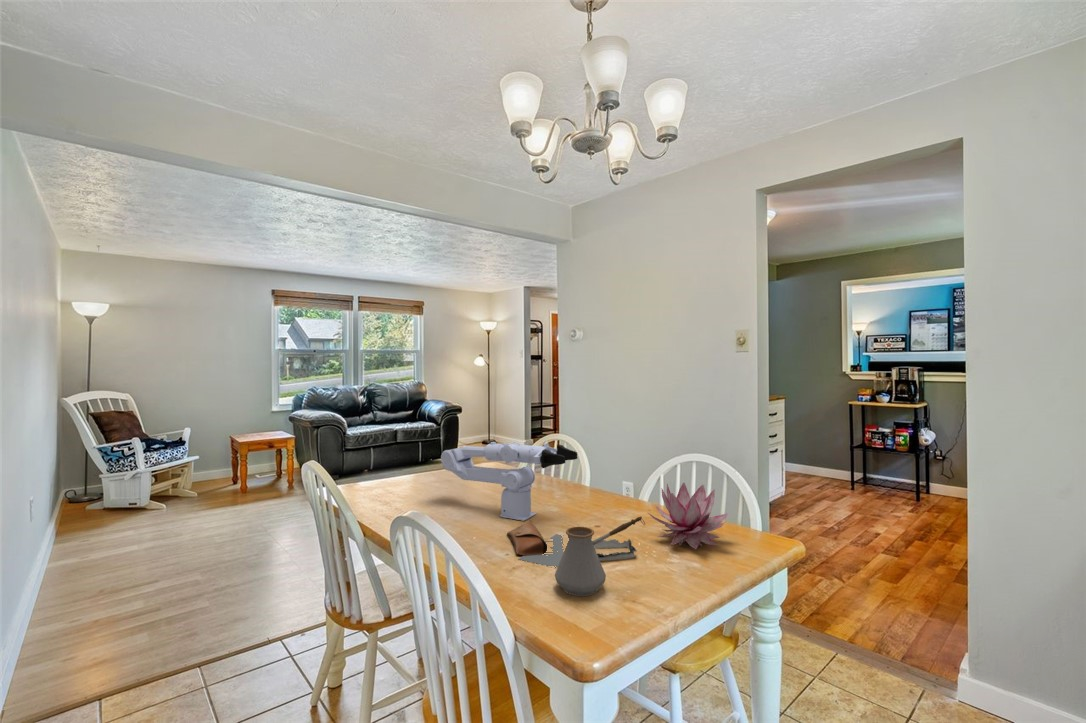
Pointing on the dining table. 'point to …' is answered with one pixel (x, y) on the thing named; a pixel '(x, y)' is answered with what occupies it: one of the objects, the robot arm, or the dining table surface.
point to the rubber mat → (551, 558)
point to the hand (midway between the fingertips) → (570, 457)
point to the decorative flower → (690, 516)
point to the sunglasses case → (528, 540)
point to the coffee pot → (583, 561)
